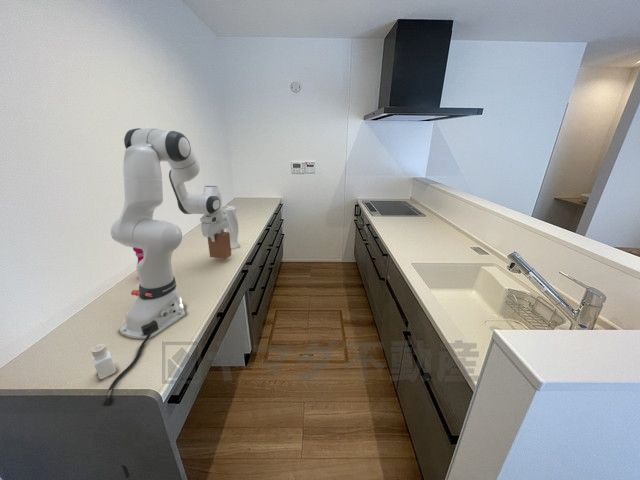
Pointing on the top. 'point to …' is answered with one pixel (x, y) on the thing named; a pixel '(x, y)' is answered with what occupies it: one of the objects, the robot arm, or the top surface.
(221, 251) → the reddish brown block
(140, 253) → the pepper mill
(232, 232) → the white baluster column
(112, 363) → the pepper shaker
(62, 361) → the top surface
